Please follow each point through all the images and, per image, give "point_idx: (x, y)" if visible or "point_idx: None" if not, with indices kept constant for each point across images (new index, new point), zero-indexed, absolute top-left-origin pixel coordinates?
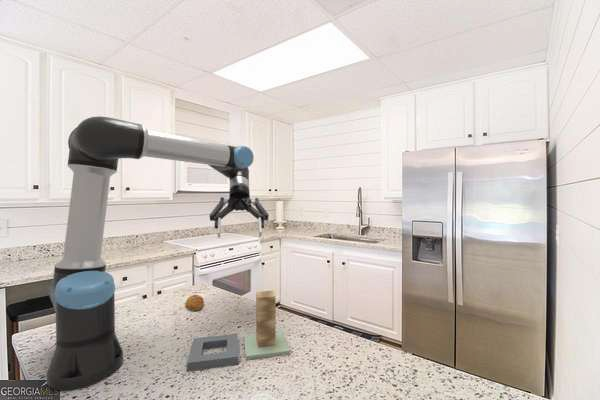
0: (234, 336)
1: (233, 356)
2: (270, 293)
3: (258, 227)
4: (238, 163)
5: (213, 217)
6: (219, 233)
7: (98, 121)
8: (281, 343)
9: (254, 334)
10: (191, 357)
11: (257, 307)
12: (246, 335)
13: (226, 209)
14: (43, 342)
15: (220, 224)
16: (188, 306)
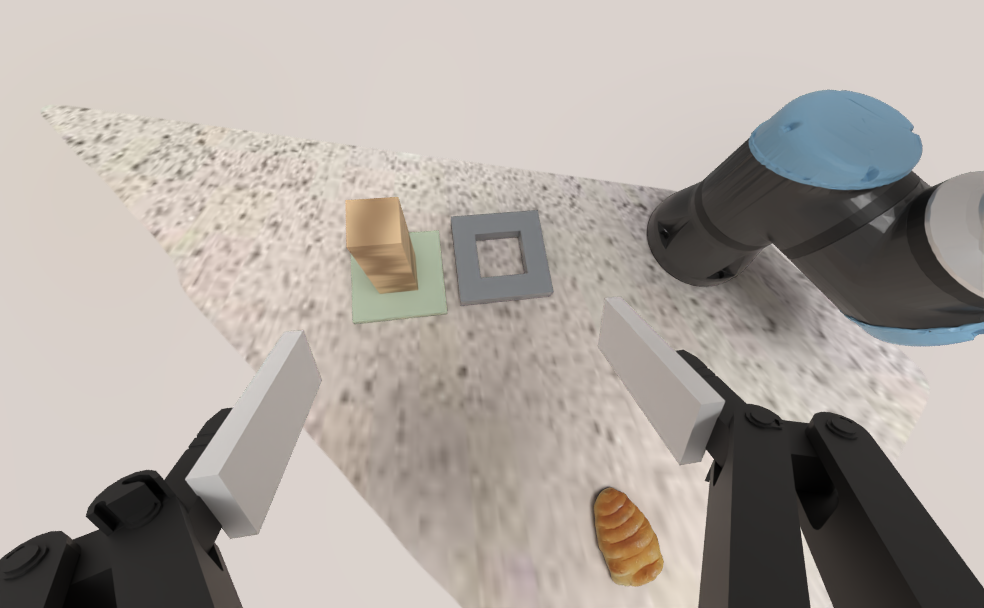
0: (466, 288)
1: (460, 217)
2: (357, 224)
3: (287, 454)
4: None
5: (788, 425)
6: (606, 303)
7: None
8: None
9: (422, 309)
10: (535, 224)
11: (403, 217)
12: (441, 307)
13: (749, 582)
14: (850, 342)
15: (653, 380)
16: (636, 506)
